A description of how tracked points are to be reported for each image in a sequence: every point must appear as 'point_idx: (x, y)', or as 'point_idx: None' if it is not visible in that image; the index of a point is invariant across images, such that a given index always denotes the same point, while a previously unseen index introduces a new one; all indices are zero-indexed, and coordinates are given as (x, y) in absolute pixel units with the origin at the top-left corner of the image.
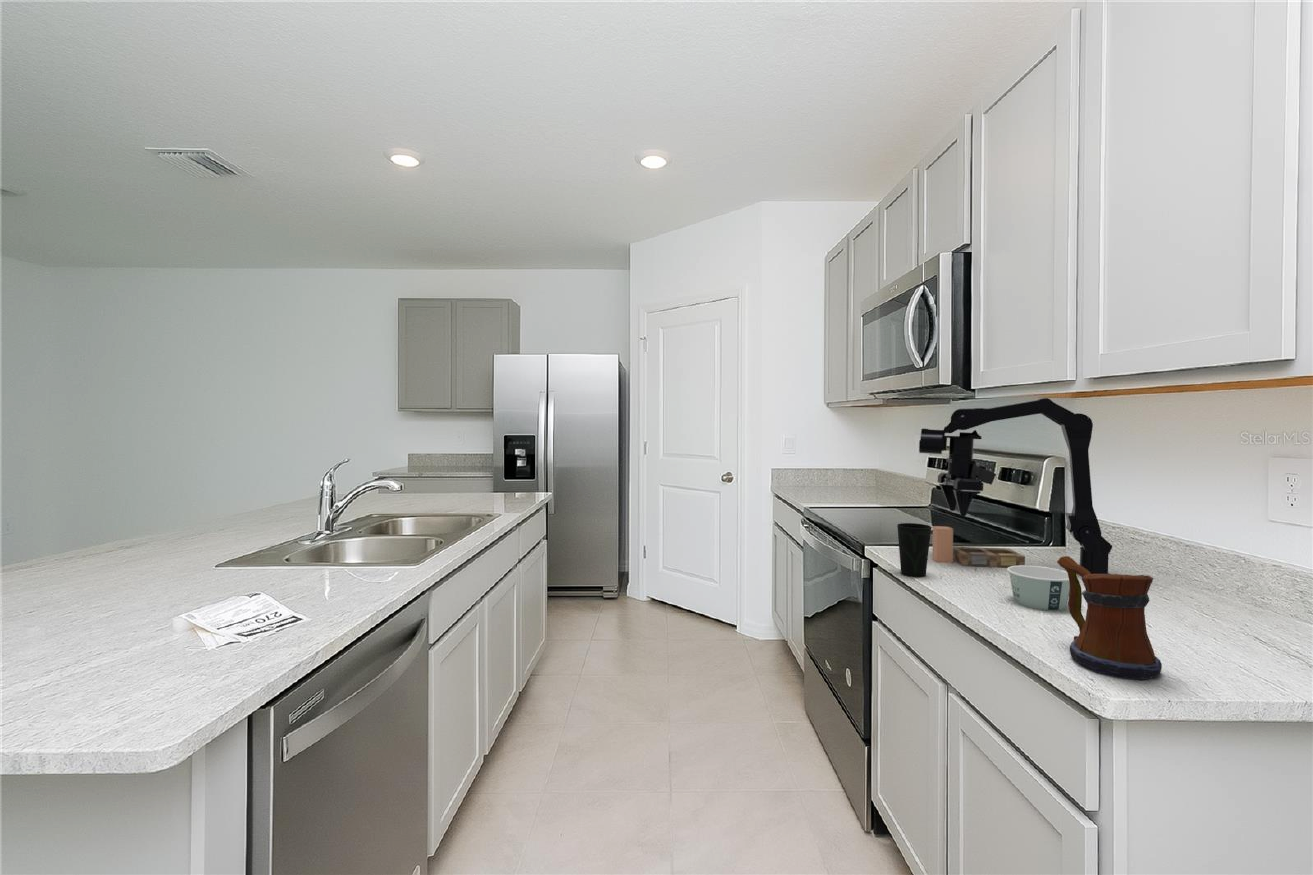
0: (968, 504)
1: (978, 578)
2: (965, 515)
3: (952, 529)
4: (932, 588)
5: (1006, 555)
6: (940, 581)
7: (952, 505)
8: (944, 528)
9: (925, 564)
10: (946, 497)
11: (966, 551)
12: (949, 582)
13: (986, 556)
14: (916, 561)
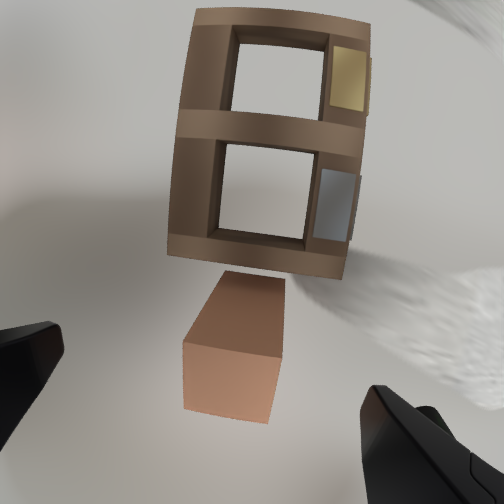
0: (464, 462)
1: (483, 289)
2: (386, 388)
3: (280, 360)
4: (500, 407)
5: (364, 86)
6: (476, 387)
7: (35, 363)
8: (259, 392)
9: (449, 429)
10: (3, 439)
11: (212, 198)
12: (487, 371)
13: (357, 174)
14: None
